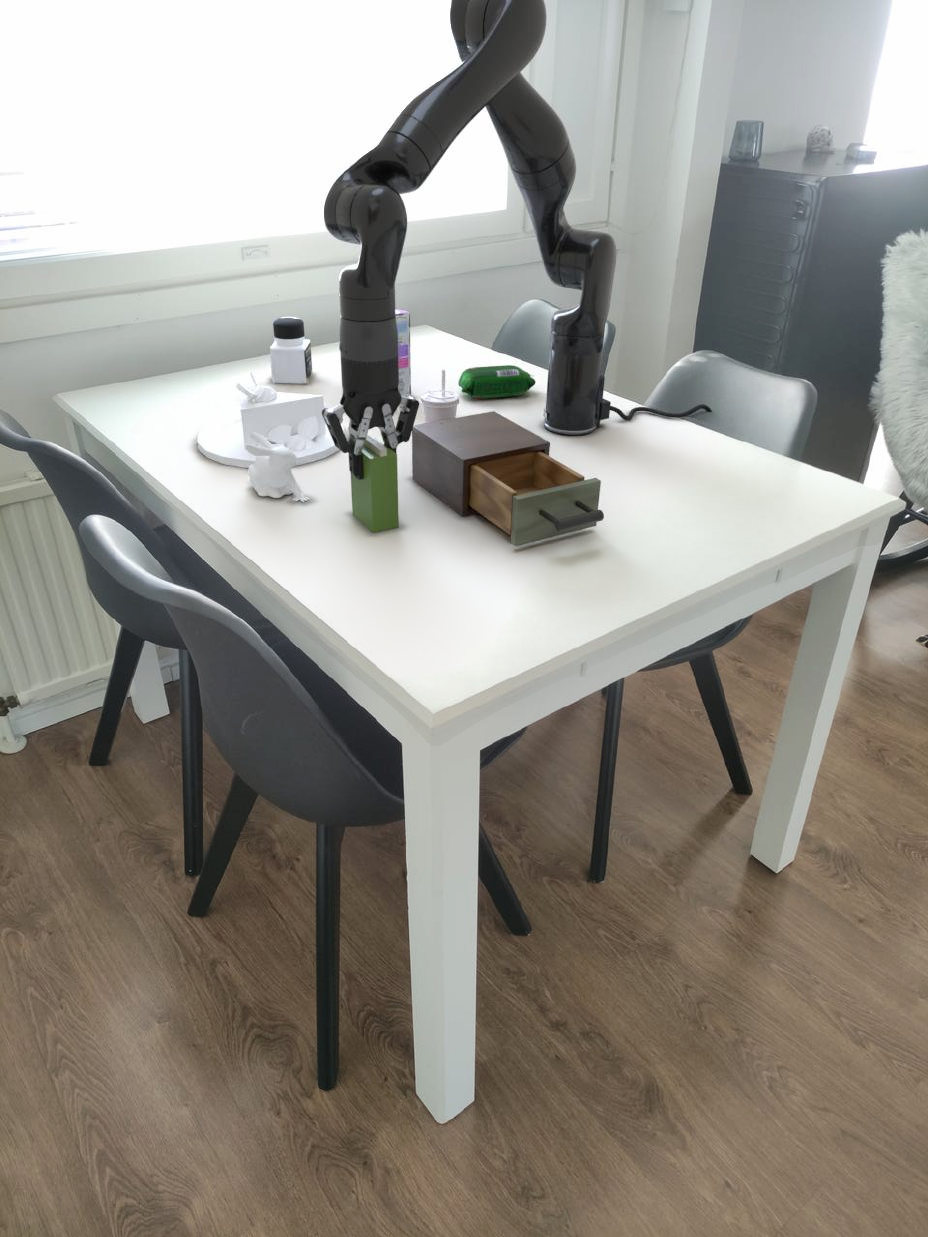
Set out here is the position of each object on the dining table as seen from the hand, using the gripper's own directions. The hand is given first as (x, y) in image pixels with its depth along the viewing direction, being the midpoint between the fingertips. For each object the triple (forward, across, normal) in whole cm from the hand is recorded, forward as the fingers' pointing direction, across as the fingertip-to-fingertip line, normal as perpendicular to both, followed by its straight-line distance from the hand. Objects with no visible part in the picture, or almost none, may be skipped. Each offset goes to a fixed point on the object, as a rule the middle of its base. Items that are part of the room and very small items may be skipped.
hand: (373, 474), depth 127 cm
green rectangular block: (+7, 0, 0) cm, 7 cm away
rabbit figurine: (+7, -10, +16) cm, 20 cm away
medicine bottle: (+7, +14, +69) cm, 71 cm away
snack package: (+7, +46, +41) cm, 62 cm away
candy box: (+7, +26, +53) cm, 60 cm away
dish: (+7, -2, +37) cm, 38 cm away
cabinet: (+7, +19, +3) cm, 21 cm away
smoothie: (+7, +21, +19) cm, 29 cm away
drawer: (+6, +19, -13) cm, 24 cm away
